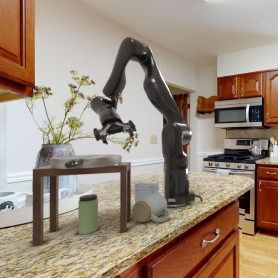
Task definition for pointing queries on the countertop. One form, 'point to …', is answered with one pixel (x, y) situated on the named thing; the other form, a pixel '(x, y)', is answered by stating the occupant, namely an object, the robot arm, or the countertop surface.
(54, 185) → the pan stand
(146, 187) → the medicine box
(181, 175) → the robot arm
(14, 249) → the countertop surface
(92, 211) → the spice bottle
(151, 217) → the ceramic mug
